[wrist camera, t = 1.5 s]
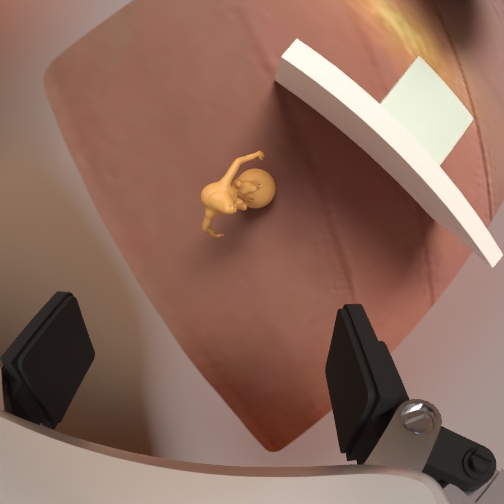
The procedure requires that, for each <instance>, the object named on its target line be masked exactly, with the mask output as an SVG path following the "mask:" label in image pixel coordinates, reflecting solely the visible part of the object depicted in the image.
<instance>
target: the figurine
mask: <svg viewBox="0 0 504 504" xmlns="http://www.w3.org/2000/svg"><path fill="white" fill-rule="evenodd" d="M261 152H262V151H258V152H256V153H254V154H250V155H246V156H244V157H240V158H237V159H236V160H235V161H234V162H233V164H232V165H231V166H230V168H229V169H228V171H227V173H226V174H225V176H224V177H223V178H222V179H221V180H220V181H219V182H216V183H212V184H209V185H207V186H206V187H205V188H204V189H203V191H202V193H201V202H202V204H203V205H204V207H205V218H204V221H203V224H202V230H203V231H204V232H207V233H208V234H209V235H211V236H213V237H221V236H224V235H223V234H221V235H217V234H216V233H215V231H213V230H212V229H210V228H209V226H210V224H211V222H212V219H213V218H214V217H215V216H216V215H219V214H227V215H230V214H233V213H235V212H236V210H242V211H245V210H246V209H247V207H250V208H261V207H264V206H266V205H267V204H268V203H269V202H270V201H271V200H272V199H273V197H274V194H275V183H274V180H273V178H272V177H271V175H270V174H269V173H267V172H266V171H264V170H262V169H257V168H254V169H249V170H246V171H245V172H243V173H242V174H241V175H240V176H239V177H238V179H236V180H234V182H233V183H232V187H231V182H232V179H233V178H234V176H235V174H236V172H237V170H238V168H239V166H240V165H241V164H243V163H245V162H248V161H251V160H253V159H255V158H256V157H259V158H260V159H261V160H263V159H262V158H261V157H264V158H265V156H263V155H264V153H261ZM262 154H263V155H262Z"/></svg>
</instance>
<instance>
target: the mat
mask: <svg viewBox="0 0 504 504" xmlns="http://www.w3.org/2000/svg"><path fill="white" fill-rule="evenodd" d="M380 105H381V106H382V107H383V108H384V109H385V110H386V111H387V112H389V113H390V114H391V115H392V116H393V117H394V118H395V119H396V120H397V121H398V122H399V123H400V124H401V125H402V126H403V127H404V128H405V129H406V130H407V131H408V132H409V133H410V134H411V135H412V136H413V137H414V139H415V140H416V141H417V142H418V143H419V144H420V145H421V146H422V147H423V148H424V149H425V150H426V152H427V153H428V154H429V155H430V156H431V157H432V158H433V159H434V161H435V162H436V163H437V164H438V165H439V166H440V164H441V163H442V162H443V160H444V159H445V158H446V156H447V155H448V154H449V152H450V151H451V150H452V148H453V147H454V146H455V144H456V143H457V141H458V140H459V139H460V137H461V136H462V135H463V133H464V132H465V130H466V129H467V127H468V126H469V125H470V123H471V122H472V120H473V119H474V118H473V117H472V116H471V114H470V113H469V112H468V111H467V109H466V108H465V107H464V105H463V104H462V103H461V102H460V100H459V99H458V98H457V97H456V96H455V94H454V93H453V92H452V91H451V90H450V88H449V87H448V86H447V85H446V84H445V83H444V82H443V80H442V79H441V78H440V77H439V76H438V75H437V74H436V73H435V72H434V71H433V70H432V68H431V67H430V66H429V65H428V64H427V63H426V62H425V61H424V60H423V59H422V58H421V57H420V56H417V58H416V59H415V60H414V62H413V63H412V64H411V65H410V67H409V68H408V69H407V70H406V72H405V73H404V74H403V75H402V77H401V78H400V79H399V80H398V82H397V83H396V84H395V85H394V87H393V88H392V89H391V90H390V92H389V93H388V94H387V95H386V97H385V98H384V99H383V100H382V102H381V103H380Z"/></svg>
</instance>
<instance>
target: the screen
mask: <svg viewBox="0 0 504 504" xmlns="http://www.w3.org/2000/svg"><path fill="white" fill-rule="evenodd" d="M275 81H276V82H278V83H279V84H281V85H282V86H283V87H285V88H286V89H288V90H289V91H291V92H292V93H293V94H295V95H296V96H297V97H299V98H300V99H301V100H303V101H304V102H305V103H307V104H308V105H309V106H311V107H312V108H313V109H315V110H316V111H317V112H319V113H320V114H321V115H322V116H324V117H325V118H326V119H327V120H329V121H330V122H331V123H332V124H334V125H335V126H336V127H337V128H338V129H340V130H341V131H342V132H343V133H344V134H346V135H347V136H348V137H349V138H350V139H351V140H353V141H354V142H355V143H356V144H357V145H358V146H359V147H361V148H362V149H363V150H364V151H365V152H366V153H367V154H368V155H370V156H371V157H372V158H373V159H374V160H375V161H376V162H377V163H378V164H379V165H380V166H381V167H382V168H384V169H385V170H386V171H387V172H388V173H389V174H390V175H391V176H392V177H393V178H394V179H395V180H396V181H397V182H398V183H399V184H400V185H401V186H402V187H403V188H404V189H405V190H406V191H407V192H408V193H409V194H410V195H411V196H412V197H413V198H414V199H415V200H416V201H417V203H418V204H419V205H420V206H421V207H422V208H423V209H424V210H425V211H426V212H427V213H428V214H429V216H430V217H431V218H432V219H434V220H435V221H436V222H438V223H439V224H440V225H442V226H443V227H444V228H445V229H447V230H448V231H449V232H451V233H452V234H453V235H454V236H456V237H457V238H458V239H459V240H461V241H462V242H463V243H464V244H465V245H467V246H468V247H469V248H470V249H471V250H473V251H474V252H475V253H476V254H477V255H478V256H480V257H481V258H482V259H483V260H484V261H485V262H487V263H488V264H489V265H490V266H491V267H492V268H493V267H494V266H495V265H496V263H497V262H498V261H499V260H500V258H501V257H502V256H503V254H502V252H501V251H500V249H499V247H498V246H497V244H496V243H495V241H494V239H493V238H492V236H491V235H490V233H489V232H488V230H487V229H486V227H485V226H484V224H483V223H482V221H481V220H480V218H479V217H478V215H477V214H476V213H475V211H474V210H473V208H472V207H471V206H470V204H469V203H468V202H467V200H466V199H465V198H464V196H463V195H462V194H461V192H460V191H459V190H458V188H457V187H456V186H455V185H454V183H453V182H452V181H451V180H450V178H449V177H448V176H447V175H446V174H445V172H444V171H443V170H442V169H441V168H440V166H439V165H438V164H437V163H436V162H435V161H434V159H433V158H432V157H431V156H430V155H429V154H428V153H427V152H426V150H425V149H424V148H423V147H422V146H421V145H420V144H419V143H418V142H417V141H416V140H415V139H414V137H413V136H412V135H411V134H410V133H409V132H408V131H407V130H406V129H405V128H404V127H403V126H402V125H401V124H400V123H399V122H398V121H397V120H396V119H395V118H394V117H393V116H392V115H391V114H390V113H389V112H387V111H386V110H385V109H384V108H383V107H382V106H381V105H380V104H379V103H378V102H377V101H376V100H375V99H373V98H372V97H371V96H370V95H369V94H368V93H367V92H366V91H364V90H363V89H362V88H361V87H360V86H359V85H357V84H356V83H355V82H354V81H353V80H351V79H350V78H349V77H348V76H347V75H345V74H344V73H343V72H342V71H340V70H339V69H338V68H336V67H335V66H334V65H333V64H331V63H330V62H329V61H327V60H326V59H325V58H323V57H322V56H321V55H319V54H318V53H317V52H315V51H314V50H312V49H311V48H310V47H308V46H307V45H305V44H304V43H302V42H301V41H300V40H298V39H296V40H295V41H294V42H293V43H292V45H291V46H290V47H289V48H288V49H287V51H286V52H285V53H284V54H283V55H282V57H281V59H280V63H279V66H278V70H277V73H276V76H275Z"/></svg>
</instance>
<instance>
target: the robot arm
mask: <svg viewBox="0 0 504 504" xmlns="http://www.w3.org/2000/svg"><path fill="white" fill-rule="evenodd" d="M94 357H95V352H94V348H93V346H92V343H91V341H90V338H89V335H88V332H87V329H86V326H85V323H84V320H83V318H82V314H81V311H80V308H79V305H78V301H77V299H76V298H75V297H74V296H73V294H72V293H70V292H60V291H59V292H56V294H54V295H53V297H52V298H51V299H50V300H49V301H48V302H47V303H46V304H45V305H44V307H43V308H42V309H41V310H40V311H39V312H38V313H37V314H36V316H35V317H34V318H33V319H32V320H31V321H30V322H29V324H28V325H27V326H26V327H25V328H24V330H23V331H22V332H21V333H20V334H19V336H18V337H17V338H16V339H15V341H14V342H13V343H12V344H11V345H10V347H9V348H8V349H7V350H6V352H5V353H4V354H3V355H2V357H1V358H0V359H1V361H2V363H3V367H2V368H1V366H0V504H504V470H503V469H501V470H500V471H498V470H497V469H496V459H495V457H494V455H493V453H492V452H491V451H490V450H489V449H488V448H486V447H484V446H482V445H480V444H478V443H476V442H474V441H472V440H469V439H467V438H465V437H463V436H461V435H459V434H457V433H454V432H452V431H450V430H448V429H446V428H444V427H442V426H441V424H442V419H441V414H440V413H439V411H438V409H437V408H436V407H435V406H434V405H433V404H431V403H429V402H427V401H424V400H420V399H412V400H409V397H408V395H407V392H406V390H405V387H404V385H403V383H402V380H401V378H400V376H399V373H398V371H397V369H396V367H395V364H394V362H393V359H392V357H391V355H390V353H389V350H388V348H387V346H386V344H385V343H384V342H383V341H378V339H377V337H376V335H375V333H374V330H373V328H372V326H371V324H370V321H369V319H368V317H367V315H366V313H365V310H364V308H363V306H362V305H361V304H345V305H344V306H343V309H338V312H337V316H336V321H335V326H334V331H333V336H332V340H331V345H330V349H329V354H328V358H327V362H326V369H325V372H326V379H327V384H328V389H329V394H330V399H331V404H332V409H333V414H334V420H335V425H336V430H337V436H338V441H339V447H340V451H341V453H346V457H347V461H352V460H357V465H337V466H315V467H281V468H280V467H237V466H222V465H210V464H199V463H191V462H183V461H176V460H169V459H163V458H157V457H151V456H146V455H140V454H136V453H131V452H127V451H122V450H118V449H113V448H110V447H106V446H102V445H98V444H95V443H91V442H88V441H84V440H81V439H78V438H75V437H71V436H68V435H65V434H62V433H59V432H56V431H54V430H51V429H55V428H56V426H57V423H60V422H61V421H62V419H63V417H64V415H65V413H66V411H67V409H68V407H69V405H70V403H71V401H72V399H73V397H74V395H75V393H76V391H77V389H78V388H79V386H80V384H81V382H82V380H83V378H84V376H85V374H86V373H87V371H88V369H89V367H90V365H91V364H92V362H93V360H94ZM40 423H42V424H43V425H44V426H46V427H49V428H51V429H48V428H45V427H43V426H40Z"/></svg>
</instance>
